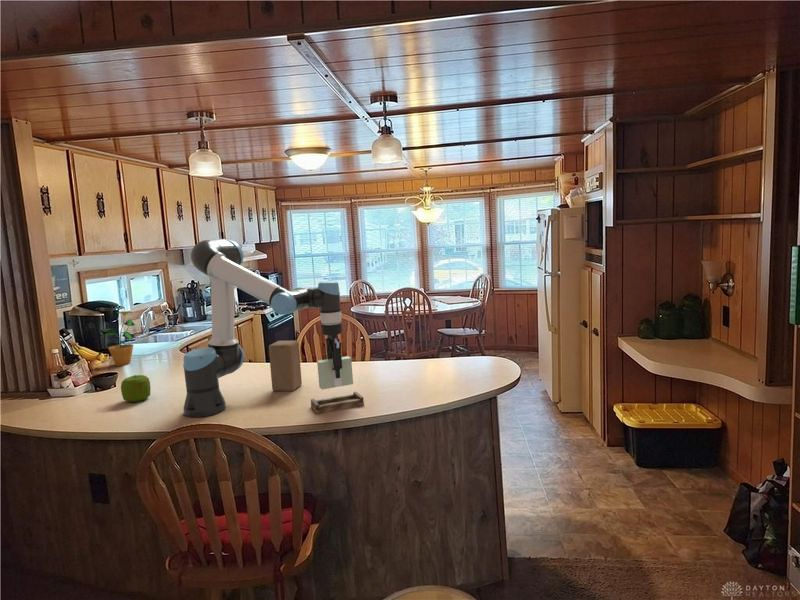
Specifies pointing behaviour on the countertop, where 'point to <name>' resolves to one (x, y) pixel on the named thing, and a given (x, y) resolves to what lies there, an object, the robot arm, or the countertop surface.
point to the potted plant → (121, 352)
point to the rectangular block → (327, 373)
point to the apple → (135, 388)
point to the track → (337, 403)
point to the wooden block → (285, 365)
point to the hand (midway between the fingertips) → (336, 384)
